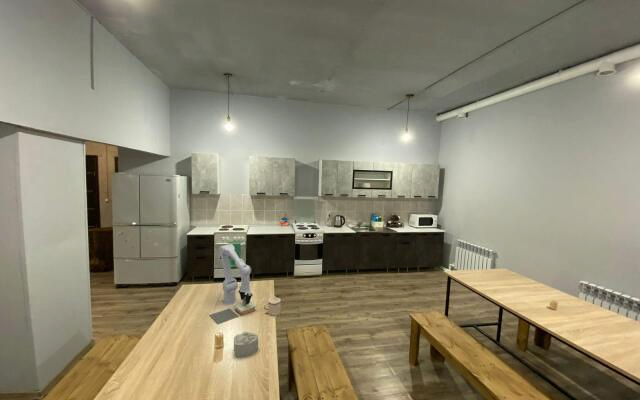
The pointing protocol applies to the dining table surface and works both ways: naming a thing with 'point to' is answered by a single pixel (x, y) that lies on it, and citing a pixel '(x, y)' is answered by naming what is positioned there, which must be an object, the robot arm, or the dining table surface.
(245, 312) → the dish
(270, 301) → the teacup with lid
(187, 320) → the dining table surface
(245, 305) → the lid
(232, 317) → the mat
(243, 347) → the lumpy-topped squat cylinder
